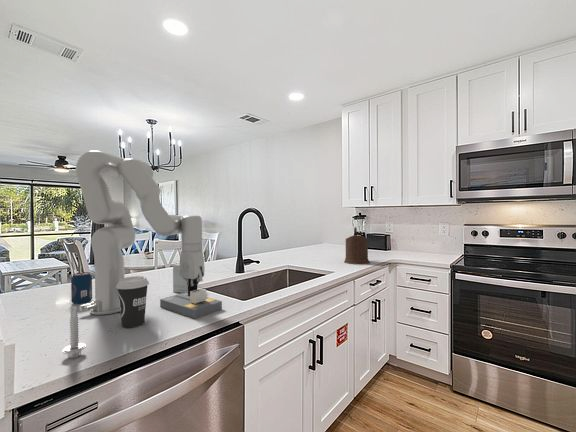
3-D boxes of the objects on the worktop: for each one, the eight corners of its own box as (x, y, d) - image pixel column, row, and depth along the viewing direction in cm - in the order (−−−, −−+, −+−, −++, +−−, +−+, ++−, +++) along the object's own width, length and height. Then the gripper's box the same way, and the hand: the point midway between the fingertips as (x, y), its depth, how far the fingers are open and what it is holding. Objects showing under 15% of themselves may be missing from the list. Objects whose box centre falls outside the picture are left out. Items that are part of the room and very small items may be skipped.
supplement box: (187, 292, 129) (186, 265, 129) (172, 292, 130) (172, 265, 130) (195, 288, 136) (195, 262, 136) (181, 287, 138) (181, 262, 137)
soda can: (69, 302, 116) (69, 273, 115) (90, 298, 121) (89, 271, 121) (73, 306, 111) (73, 276, 111) (94, 302, 116) (93, 273, 116)
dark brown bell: (344, 264, 198) (344, 228, 197) (343, 258, 221) (343, 227, 221) (371, 264, 194) (371, 228, 194) (367, 259, 218) (367, 227, 218)
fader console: (195, 318, 97) (195, 309, 97) (160, 306, 110) (160, 298, 110) (221, 309, 107) (221, 300, 107) (187, 299, 120) (186, 291, 119)
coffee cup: (126, 332, 86) (125, 283, 86) (110, 326, 91) (110, 280, 91) (155, 322, 94) (154, 277, 94) (139, 316, 99) (138, 274, 99)
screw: (88, 355, 72) (64, 363, 69) (83, 349, 75) (60, 356, 72) (87, 305, 72) (63, 310, 68) (82, 301, 75) (59, 306, 72)
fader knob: (195, 303, 102) (194, 292, 102) (190, 302, 104) (189, 291, 104) (206, 300, 107) (206, 289, 107) (201, 298, 108) (201, 288, 108)
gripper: (171, 247, 109) (172, 294, 109) (196, 250, 100) (196, 301, 100) (188, 245, 115) (189, 290, 115) (212, 247, 106) (213, 296, 106)
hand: (192, 295), depth 108 cm, fingers closed
